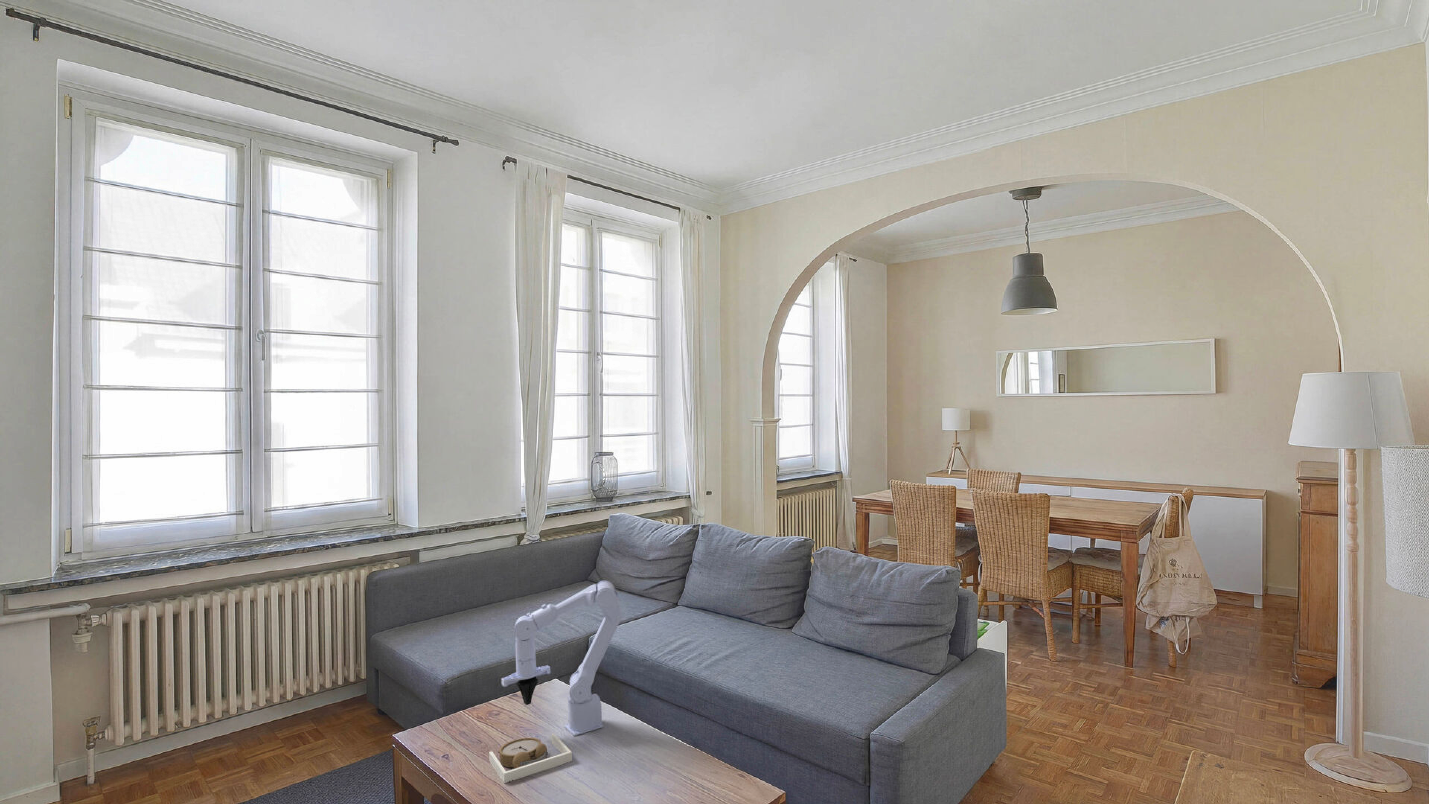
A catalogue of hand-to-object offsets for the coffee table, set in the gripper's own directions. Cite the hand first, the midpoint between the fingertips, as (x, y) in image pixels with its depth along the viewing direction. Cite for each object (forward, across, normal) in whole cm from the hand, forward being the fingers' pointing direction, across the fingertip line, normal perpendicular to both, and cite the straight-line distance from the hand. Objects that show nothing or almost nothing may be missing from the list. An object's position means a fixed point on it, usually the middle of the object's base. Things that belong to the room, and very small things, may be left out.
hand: (527, 703), depth 207 cm
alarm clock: (+10, +7, +13) cm, 18 cm away
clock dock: (+9, +6, +15) cm, 19 cm away
